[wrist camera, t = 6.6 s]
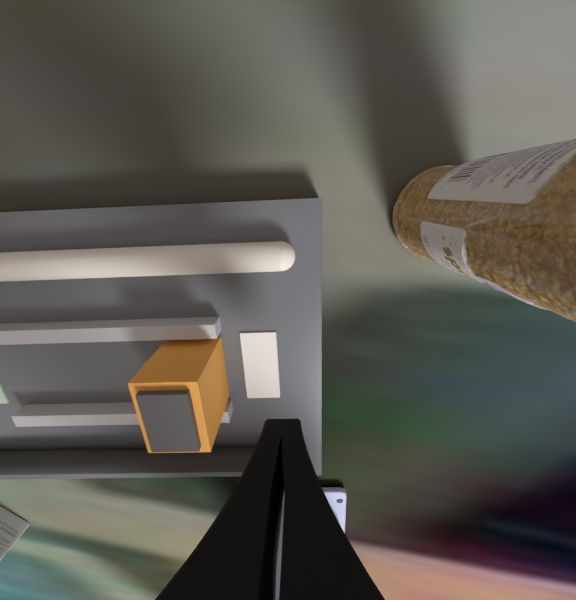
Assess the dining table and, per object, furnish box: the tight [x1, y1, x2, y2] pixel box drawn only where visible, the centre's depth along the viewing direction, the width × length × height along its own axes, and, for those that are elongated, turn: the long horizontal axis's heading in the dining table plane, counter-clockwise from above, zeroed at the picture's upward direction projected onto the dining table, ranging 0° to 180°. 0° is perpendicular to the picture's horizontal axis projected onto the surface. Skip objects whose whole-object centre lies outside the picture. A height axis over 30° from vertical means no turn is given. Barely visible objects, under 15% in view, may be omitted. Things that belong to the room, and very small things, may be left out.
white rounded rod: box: [0, 241, 295, 282], centre depth 13 cm, size 1×21×1 cm, turn 92°
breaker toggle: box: [128, 336, 229, 453], centre depth 14 cm, size 4×3×4 cm
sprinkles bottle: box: [393, 139, 576, 322], centre depth 8 cm, size 5×5×14 cm
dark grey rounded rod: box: [0, 447, 255, 475], centre depth 18 cm, size 1×21×1 cm, turn 92°
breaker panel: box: [0, 198, 322, 479], centre depth 16 cm, size 18×24×2 cm
